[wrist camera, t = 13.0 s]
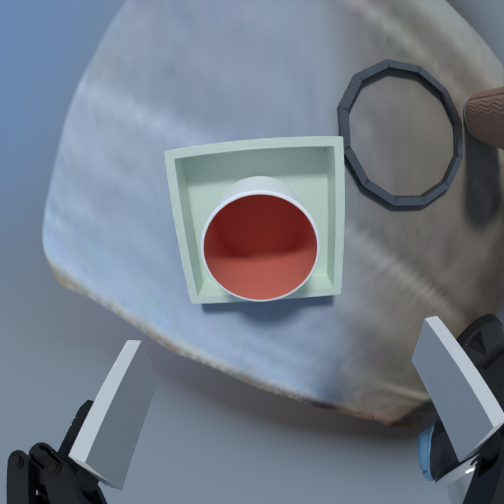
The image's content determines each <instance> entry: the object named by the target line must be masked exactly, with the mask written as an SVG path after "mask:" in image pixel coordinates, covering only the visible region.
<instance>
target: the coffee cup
mask: <svg viewBox="0 0 504 504" xmlns="http://www.w3.org/2000/svg"><path fill="white" fill-rule="evenodd" d="M464 118H465V122H466V125H467V128H468V130H469V131H470V133H471V134H472V135H473V136H474V137H475V138H476V139H478V140H480V141H482V142H484V143H486V144H489V145H492V146H495V147H498V148H500V149H503V150H504V87H500V88H495V89H491V90H487V91H483V92H479V93H476V94H473V95H472V96H470V97H468V98H467V100H466V102H465V105H464Z"/></svg>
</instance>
